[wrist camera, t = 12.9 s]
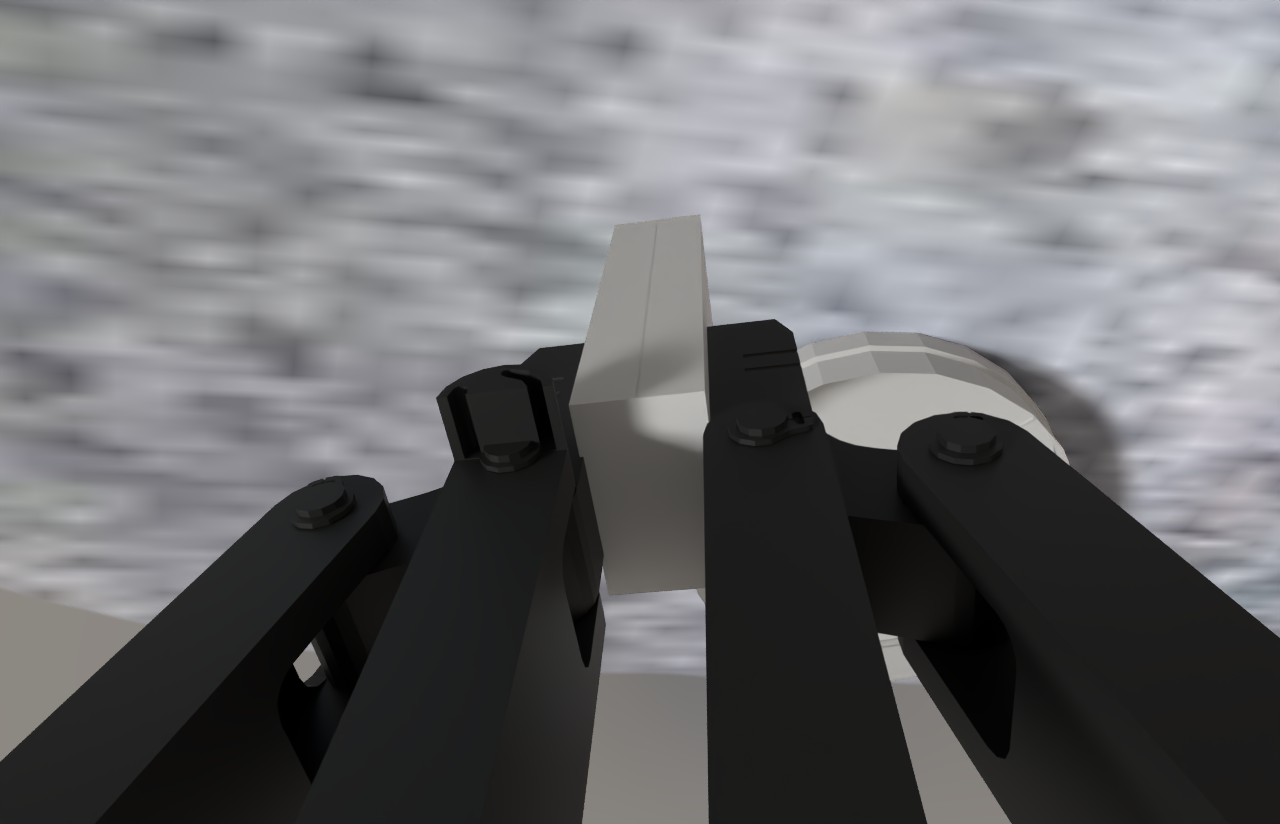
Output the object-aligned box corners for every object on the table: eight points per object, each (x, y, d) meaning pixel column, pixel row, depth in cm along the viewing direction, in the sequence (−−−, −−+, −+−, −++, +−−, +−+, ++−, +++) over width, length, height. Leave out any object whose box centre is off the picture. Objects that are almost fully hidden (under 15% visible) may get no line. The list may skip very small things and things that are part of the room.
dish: (1113, 529, 53) (1150, 582, 49) (806, 674, 61) (815, 732, 56) (940, 250, 45) (966, 284, 41) (611, 457, 53) (603, 505, 48)
